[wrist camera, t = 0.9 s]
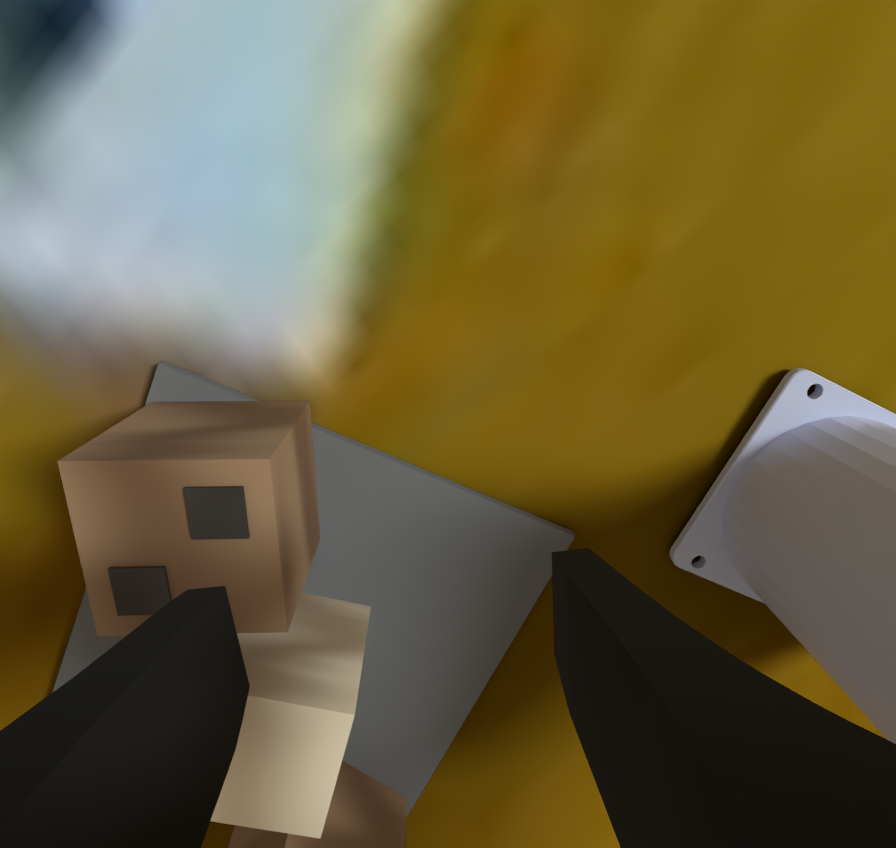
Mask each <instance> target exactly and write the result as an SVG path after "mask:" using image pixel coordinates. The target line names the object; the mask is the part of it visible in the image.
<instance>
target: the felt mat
mask: <svg viewBox="0 0 896 848" xmlns="http://www.w3.org/2000/svg"><path fill="white" fill-rule="evenodd" d="M183 401H259V400H257V399H255V398H252V397H250V396H247V395H245V394H243V393H240V392H238V391H235V390H233V389H231V388H228V387H226V386H223V385H221V384H219V383H216V382H214V381H211V380H209V379H207V378H204V377H202V376H199V375H197V374H195V373H192V372H190V371H187V370H185V369H183V368H180V367H178V366H175V365H173V364H171V363H168V362H166V361H162V362H160V363H158V366H157V369H156V372H155V375H154V378H153V381H152V385H151V388H150V391H149V394H148V397H147V400H146V403H145V406H146V405H148V404H149V403H151V402H183ZM145 406H144V407H145ZM312 434H313V447H314V461H315V474H316V487H317V500H318V513H319V526H320V541H319V544H318V546H317V549H316V552H315V555H314V558H313V561H312V564H311V567H310V569H309V572H308V575H307V578H306V581H305V584H304V587H303V590H302V592H303V593H308V594H313V595H317V596H322V597H327V598H332V599H337V600H342V601H347V602H351V603H356V604H361V605H366V606H371V610H370V617H369V624H368V630H367V637H366V644H365V650H364V657H363V664H362V670H361V677H360V684H359V690H358V697H357V704H356V710H355V716H354V720H353V723H352V727H351V731H350V734H349V738H348V741H347V745H346V749H345V752H344V756H343V759H342V760H343V761H344V762H346V763H348V764H350V765H351V766H353V767H355V768H356V769H358V770H360V771H362V772H363V773H365V774H367V775H368V776H370V777H372V778H374V779H375V780H377V781H379V782H380V783H382V784H384V785H386V786H387V787H389V788H391V789H392V790H394V791H396V792H398V793H399V794H401V795H403V796H404V797H406V798H407V813H406V818H407V816H408V815H409V813H410V811H411V810H412V808H413V806H414V805H415V803H416V801H417V800H418V798H419V796H420V795H421V793H422V791H423V790H424V788H425V786H426V785H427V783H428V781H429V780H430V778H431V776H432V775H433V773H434V771H435V770H436V768H437V766H438V765H439V763H440V761H441V760H442V758H443V756H444V755H445V753H446V751H447V750H448V748H449V746H450V745H451V743H452V741H453V740H454V738H455V736H456V735H457V733H458V731H459V730H460V728H461V726H462V725H463V723H464V721H465V720H466V718H467V716H468V715H469V713H470V711H471V710H472V708H473V706H474V705H475V703H476V701H477V700H478V698H479V696H480V695H481V693H482V691H483V690H484V688H485V686H486V685H487V683H488V681H489V679H490V678H491V676H492V674H493V673H494V671H495V669H496V668H497V666H498V664H499V663H500V661H501V659H502V658H503V656H504V654H505V653H506V651H507V649H508V648H509V646H510V644H511V643H512V641H513V639H514V638H515V636H516V634H517V633H518V631H519V629H520V628H521V626H522V624H523V623H524V621H525V619H526V618H527V616H528V614H529V613H530V611H531V609H532V608H533V606H534V604H535V603H536V601H537V599H538V598H539V596H540V594H541V593H542V591H543V589H544V588H545V586H546V584H547V583H548V581H549V579H550V578H551V576H552V552H558V551H567V549H568V548H569V546H570V544H571V543H572V541H573V539H574V538H575V535H574V533H573V531H571V530H568V529H566V528H564V527H561V526H559V525H556V524H554V523H552V522H549V521H547V520H544V519H542V518H540V517H537V516H535V515H532V514H530V513H528V512H525V511H523V510H520V509H518V508H516V507H513V506H511V505H508V504H506V503H504V502H501V501H499V500H497V499H494V498H492V497H489V496H487V495H485V494H482V493H480V492H477V491H475V490H473V489H470V488H468V487H465V486H463V485H461V484H458V483H456V482H453V481H451V480H449V479H446V478H444V477H441V476H439V475H437V474H434V473H432V472H429V471H427V470H425V469H422V468H420V467H417V466H415V465H413V464H410V463H408V462H405V461H403V460H401V459H398V458H396V457H393V456H391V455H389V454H386V453H384V452H382V451H379V450H377V449H374V448H372V447H370V446H367V445H365V444H362V443H360V442H358V441H355V440H353V439H350V438H348V437H346V436H343V435H341V434H338V433H336V432H334V431H331V430H329V429H326V428H324V427H322V426H319V425H317V424H314V423H312ZM124 637H125V636H97V632H96V628H95V623H94V619H93V615H92V610H91V606H90V601H89V597H88V593H87V588H86V589H85V592H84V596H83V599H82V602H81V605H80V608H79V611H78V614H77V617H76V620H75V623H74V627H73V630H72V633H71V636H70V639H69V642H68V645H67V648H66V651H65V654H64V658H63V661H62V664H61V667H60V670H59V673H58V676H57V679H56V682H55V686H54V689H53V692H54V691H55V690H57V689H58V688H60V687H61V686H62V685H64V684H65V683H66V682H68V681H69V680H70V679H72V678H73V677H74V676H76V675H77V674H78V673H80V672H81V671H82V670H83V669H85V668H86V667H87V666H89V665H90V664H91V663H92V662H94V661H95V660H96V659H97V658H99V657H100V656H101V655H103V654H104V653H105V652H106V651H108V650H109V649H110V648H111V647H113V646H114V645H115V644H117V643H118V642H119V641H120V640H122V639H123V638H124ZM53 692H52V693H53ZM229 825H231V824H229ZM233 826H235V825H233Z"/></svg>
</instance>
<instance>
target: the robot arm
mask: <svg viewBox="0 0 896 848" xmlns="http://www.w3.org/2000/svg"><path fill="white" fill-rule="evenodd" d="M813 384H815V387H816V388H815V390H814V392H813V393H812V394H811V395H808V396H807V391H808V388H809V387H810V386H811V385H813ZM669 555H670V558H671V560H672V561H673V563H674V564H675V565H676V566H677V567H679V568H681V569H683V570H686V571H688V572H691V573H693V574H695V575H698V576H700V577H702V578H705V579H707V580H710V581H712V582H714V583H717V584H719V585H721V586H724V587H726V588H729V589H731V590H733V591H736V592H738V593H741V594H743V595H745V596H748V597H750V598H752V599H755V600H757V601H760V602H762V603H764V604H766V605H767V607H768V608H769V609H770V610H771V611H772V612H773V613H774V614H775V615H776V617H777V618H778V619H779V620H780V621H781V622H782V623H783V624H784V625H785V627H786V628H787V629H788V630H789V631H790V632H791V633H792V634H793V635H794V636H795V638H796V639H797V640H798V641H799V642H800V643H801V644H802V645H803V646H804V648H805V649H806V650H807V651H808V652H809V653H810V654H811V655H812V656H813V658H814V659H815V660H816V661H817V662H818V663H819V664H820V665H821V666H822V668H823V669H824V670H825V671H826V672H827V673H828V674H829V675H830V676H831V678H832V679H833V680H834V681H835V682H836V683H837V684H838V685H839V686H840V688H841V689H842V690H843V691H844V692H845V693H846V694H847V695H848V696H849V698H850V699H851V700H852V701H853V702H854V703H855V704H856V705H857V706H858V708H859V709H860V710H861V711H862V712H863V713H864V714H865V715H866V716H867V718H868V719H869V720H870V721H871V722H872V723H873V724H874V725H875V726H876V728H877V729H878V730H879V731H880V732H881V733H882V734H883V735H884V736H885V738H886V739H885V738H882V737H880V736H878V735H876V734H874V733H872V732H870V731H868V730H866V729H864V728H862V727H860V726H858V725H856V724H854V723H851V722H850V721H848V720H846V719H844V718H842V717H840V716H838V715H836V714H834V713H832V712H830V711H828V710H826V709H824V708H823V707H821V706H819V705H817V704H815V703H813V702H811V701H810V700H808V699H806V698H804V697H803V696H801V695H799V694H797V693H796V692H794V691H792V690H790V689H789V688H787V687H785V686H783V685H781V684H780V683H778V682H776V681H774V680H773V679H771V678H769V677H767V676H766V675H764V674H762V673H761V672H759V671H757V670H756V669H754V668H752V667H751V666H749V665H747V664H746V663H744V662H743V661H741V660H739V659H738V658H736V657H735V656H733V655H732V654H730V653H729V652H727V651H726V650H724V649H723V648H721V647H720V646H718V645H717V644H715V643H714V642H712V641H710V640H709V639H707V638H706V637H704V636H703V635H701V634H700V633H698V632H697V631H696V630H694V629H693V628H691V627H690V626H689V625H687V624H686V623H684V622H683V621H681V620H680V619H679V618H677V617H676V616H675V615H673V614H672V613H670V612H669V611H668V610H666V609H665V608H664V607H662V606H661V605H660V604H658V603H657V602H656V601H654V600H653V599H652V598H650V597H649V596H648V595H647V594H645V593H644V592H643V591H641V590H640V589H639V588H637V587H636V586H635V585H634V584H632V583H631V582H630V581H629V580H627V579H626V578H625V577H624V576H622V575H621V574H620V573H619V572H617V571H616V570H615V569H614V568H612V567H611V566H610V565H609V564H607V563H606V562H605V561H604V560H603V559H601V558H600V557H599V556H598V555H596V554H595V553H594V552H592V551H591V550H590V549H588V548H587V549H577V550H567V551H558V552H552V584H553V618H554V651H555V657H556V661H557V665H558V669H559V673H560V677H561V681H562V686H563V689H564V693H565V697H566V701H567V705H568V708H569V712H570V715H571V718H572V720H573V723H574V726H575V728H576V731H577V734H578V736H579V739H580V742H581V744H582V747H583V750H584V752H585V755H586V758H587V760H588V763H589V766H590V768H591V771H592V773H593V776H594V779H595V781H596V784H597V787H598V789H599V792H600V794H601V797H602V800H603V802H604V805H605V808H606V810H607V813H608V815H609V818H610V821H611V823H612V826H613V828H614V831H615V834H616V836H617V839H618V842H619V844H620V847H621V848H896V414H894V413H892V412H890V411H888V410H886V409H884V408H882V407H880V406H878V405H876V404H874V403H872V402H870V401H868V400H866V399H865V398H863V397H861V396H859V395H857V394H855V393H853V392H851V391H849V390H847V389H845V388H843V387H841V386H839V385H837V384H835V383H833V382H831V381H829V380H827V379H825V378H823V377H821V376H819V375H817V374H815V373H813V372H811V371H809V370H806V369H803V368H795V369H793V370H791V371H789V372H788V373H787V374H786V375H785V376H784V377H783V379H782V380H781V382H780V383H779V385H778V386H777V388H776V389H775V391H774V392H773V394H772V396H771V397H770V399H769V400H768V402H767V403H766V405H765V406H764V408H763V409H762V411H761V412H760V414H759V415H758V417H757V418H756V420H755V421H754V423H753V424H752V426H751V427H750V429H749V430H748V432H747V433H746V435H745V436H744V438H743V439H742V441H741V442H740V444H739V445H738V447H737V449H736V450H735V452H734V453H733V455H732V456H731V458H730V459H729V461H728V462H727V464H726V465H725V467H724V468H723V470H722V471H721V473H720V474H719V476H718V477H717V479H716V480H715V482H714V483H713V485H712V486H711V488H710V489H709V491H708V492H707V494H706V495H705V497H704V498H703V500H702V502H701V503H700V505H699V506H698V508H697V509H696V511H695V512H694V514H693V515H692V517H691V518H690V520H689V521H688V523H687V524H686V526H685V527H684V529H683V530H682V532H681V533H680V535H679V536H678V538H677V539H676V541H675V542H674V544H673V545H672V547H671V549H670V552H669ZM697 556H701V557H700V559H699V560H698V561H697V562H694V563H692V559H693V558H695V557H697ZM249 688H250V685H249V681H248V676H247V672H246V668H245V664H244V660H243V656H242V652H241V648H240V644H239V640H238V636H237V632H236V628H235V624H234V620H233V616H232V612H231V608H230V603H229V599H228V595H227V591H226V587H225V586H218V587H208V588H198V589H189V590H186V591H185V592H183V593H182V594H180V595H179V596H177V597H176V598H175V599H173V600H172V601H170V602H169V603H168V604H166V605H165V606H164V607H162V608H161V609H160V610H159V611H157V612H156V613H155V614H153V615H152V616H151V617H150V618H148V619H147V620H146V621H144V622H143V623H142V624H141V625H139V626H138V627H137V628H136V629H134V630H133V631H132V632H131V633H129V634H128V635H127V636H125V637H124V638H123V639H122V640H120V641H119V642H118V643H117V644H115V645H114V646H113V647H111V648H110V649H109V650H108V651H106V652H105V653H104V654H103V655H101V656H100V657H99V658H97V659H96V660H95V661H94V662H92V663H91V664H90V665H89V666H87V667H86V668H85V669H83V670H82V671H81V672H80V673H78V674H77V675H76V676H74V677H73V678H72V679H70V680H69V681H68V682H66V683H65V684H64V685H62V686H61V687H60V688H58V689H57V690H55V691H54V692H53V693H51V694H50V695H49V696H47V697H46V698H45V699H43V700H42V701H41V702H39V703H38V704H36V705H35V706H34V707H32V708H31V709H30V710H28V711H27V712H26V713H24V714H23V715H21V716H20V717H19V718H17V719H16V720H15V721H13V722H12V723H11V724H9V725H8V726H7V727H5V728H4V729H2V730H1V731H0V848H201V845H202V842H203V840H204V837H205V834H206V831H207V829H208V826H209V823H210V820H211V818H212V815H213V812H214V809H215V807H216V804H217V801H218V798H219V795H220V793H221V790H222V787H223V784H224V781H225V779H226V776H227V773H228V770H229V767H230V764H231V761H232V758H233V756H234V753H235V750H236V746H237V742H238V738H239V733H240V729H241V725H242V721H243V716H244V712H245V707H246V702H247V697H248V693H249Z"/></svg>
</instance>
